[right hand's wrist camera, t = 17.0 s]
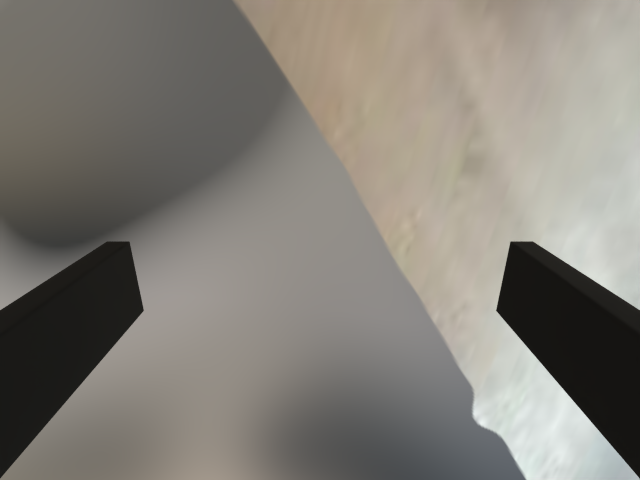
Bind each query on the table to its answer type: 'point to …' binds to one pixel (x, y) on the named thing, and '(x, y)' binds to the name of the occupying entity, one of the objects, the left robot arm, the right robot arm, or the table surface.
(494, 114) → the table surface
